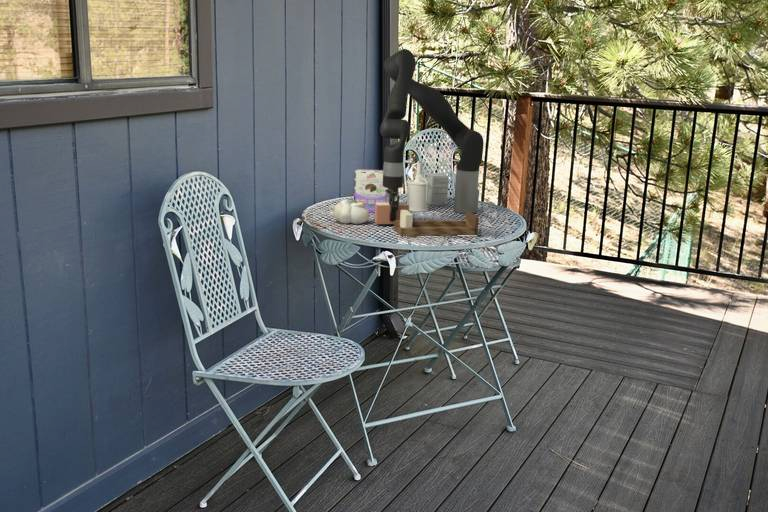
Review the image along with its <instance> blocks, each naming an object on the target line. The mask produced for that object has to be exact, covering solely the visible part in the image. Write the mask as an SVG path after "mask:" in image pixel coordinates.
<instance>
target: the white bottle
mask: <svg viewBox="0 0 768 512" xmlns="http://www.w3.org/2000/svg"><path fill="white" fill-rule="evenodd" d="M414 173H415V176H414V179H409V180H407V181H406V183H407V190H406V203H407V204H408V205H409V211H410V212H416V213H423V212H428V211H429V203H428V197H429V184H430V182H428V181H427V178H425V177H424V175H423V173H424V172H423V162H422V160H418V161H417V163H416V168H415V171H414Z"/></svg>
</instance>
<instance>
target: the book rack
mask: <svg viewBox="0 0 768 512" xmlns="http://www.w3.org/2000/svg"><path fill="white" fill-rule="evenodd" d="M464 218H465V219H464V220H412V228H401V227H400V220H394V224H393V230H394V231H395V233H396V234H398V235H400V236H402V237H401V238H418V237H417V236H457V235H478V234H479V225H480V224H479V222H480V218H479V217H478V216H477V215H475V213H471V212H470V211H466V213H465V215H464ZM400 236H399V237H400ZM403 236H405V237H403ZM406 236H407V237H406ZM478 236H479V235H478Z"/></svg>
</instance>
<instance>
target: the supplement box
mask: <svg viewBox="0 0 768 512" xmlns="http://www.w3.org/2000/svg"><path fill="white" fill-rule="evenodd" d="M426 175H427V176H426V180H427V181H428V182H430V184H429V197H428V205H430V206H447V205H448V204H447V203H448V192H449V191H448V190H449V189H448V188H449V175H446V174H445V173H443V172H430V173H429V172H428V173H427V174H426Z"/></svg>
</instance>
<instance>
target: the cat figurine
mask: <svg viewBox="0 0 768 512" xmlns="http://www.w3.org/2000/svg"><path fill="white" fill-rule="evenodd" d="M351 202H352V203H351ZM351 202H350V201H349V200H348V199H345V198H344V199H342V200H341V201H340V202H338V203H337V204H332V205H330V209H331V211H329V213H328V214H329V216H330V217H333V218H334V219H335V220H336V221H337V222H339V223H342V224H345V225H346V224H352V225H360V224H361V225H362V224H363V223H366V222H367V221H368V220H369V219H370V217H371V214H370V213H371V212H369V211H368V210H367V209H366V208H365V207H364V203H363V201H361V200H354V198H353V199H351ZM354 202H355V203H354Z"/></svg>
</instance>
